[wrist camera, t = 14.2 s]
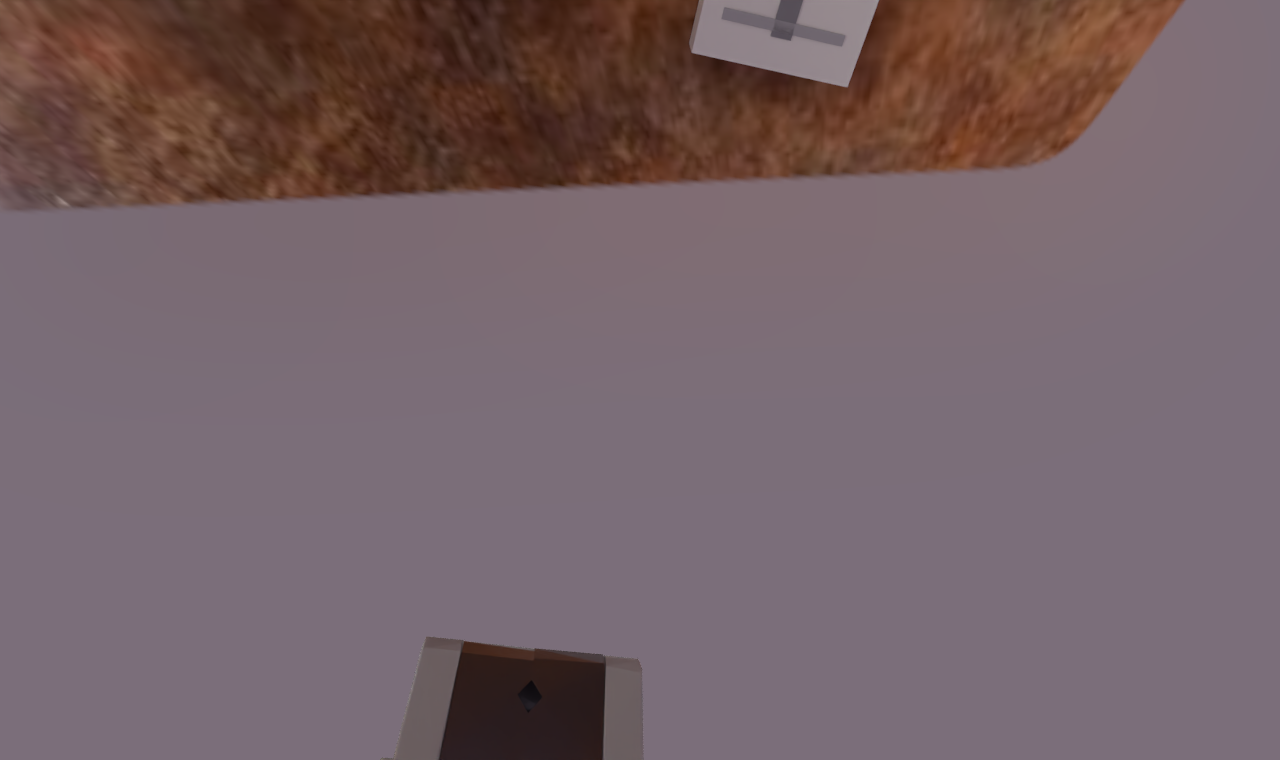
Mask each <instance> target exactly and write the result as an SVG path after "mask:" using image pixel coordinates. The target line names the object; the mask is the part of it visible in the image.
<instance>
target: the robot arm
mask: <svg viewBox="0 0 1280 760" xmlns="http://www.w3.org/2000/svg"><path fill="white" fill-rule="evenodd" d="M642 702H643V700H642V668H641V665H640V662H639V660H638V659H633V658H623V657H613V656H603V655H601V654H590V653H579V652H568V651H556V650H546V649H531V648H522V647H513V646H504V645H494V644H485V643H476V642H467V641H463V640H455V639H446V638H435V637H426V639H425V642H424V644H423V646H422V649H421V652H420V656H419V660H418V664H417V668H416V672H415V676H414V679H413V683H412V687H411V691H410V695H409V699H408V703H407V707H406V711H405V715H404V719H403V723H402V726H401V730H400V734H399V738H398V742H397V746H396V750H395V754H394V758H393V759H392V758H381V759H380V760H644V758H643V704H642Z"/></svg>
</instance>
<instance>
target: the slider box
mask: <svg viewBox="0 0 1280 760" xmlns="http://www.w3.org/2000/svg"><path fill="white" fill-rule="evenodd" d="M878 2H879V0H699V2H698V7H697V11H696V15H695V20H694V24H693V28H692V33H691V37H690V41H689V45H690V49H691V52H692V53H695V54H699V55H704V56H708V57H713V58H717V59H722V60H726V61H731V62H735V63H740V64H744V65H749V66H753V67H758V68H762V69H767V70H771V71H776V72H780V73H785V74H789V75H794V76H798V77H803V78H807V79H812V80H816V81H821V82H825V83H830V84H834V85H839V86H843V87H848V85H849V82H850V79H851V76H852V73H853V71H854V68H855V65H856V62H857V60H858V57H859V54H860V51H861V49H862V46H863V43H864V40H865V38H866V35H867V32H868V29H869V27H870V24H871V21H872V18H873V15H874V13H875V10H876V7H877V4H878Z"/></svg>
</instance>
